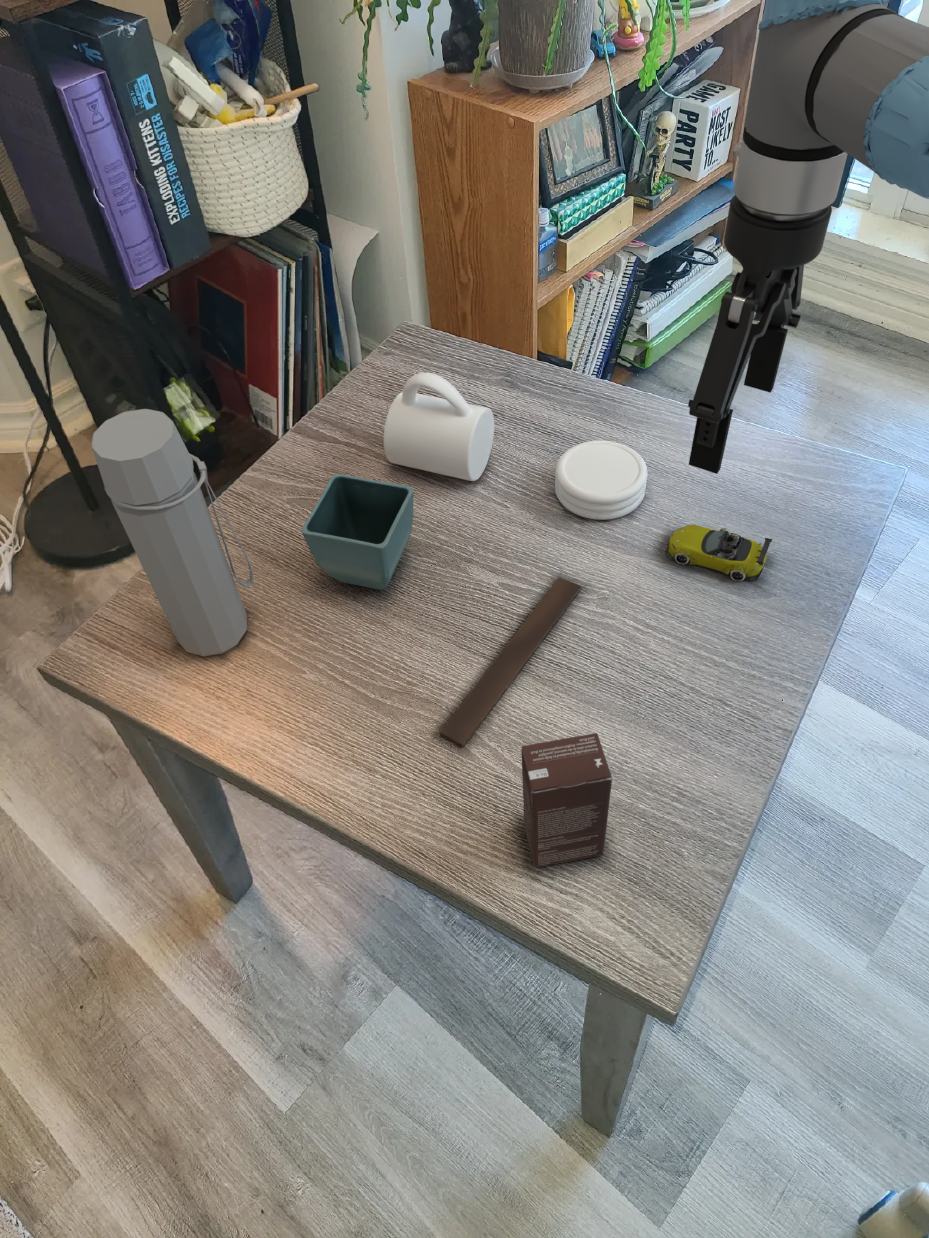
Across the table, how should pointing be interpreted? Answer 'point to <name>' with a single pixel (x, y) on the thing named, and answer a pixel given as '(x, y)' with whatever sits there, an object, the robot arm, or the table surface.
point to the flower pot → (360, 529)
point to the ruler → (509, 663)
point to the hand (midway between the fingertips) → (732, 425)
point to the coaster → (600, 480)
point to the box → (565, 799)
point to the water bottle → (172, 528)
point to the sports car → (718, 551)
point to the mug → (438, 430)
